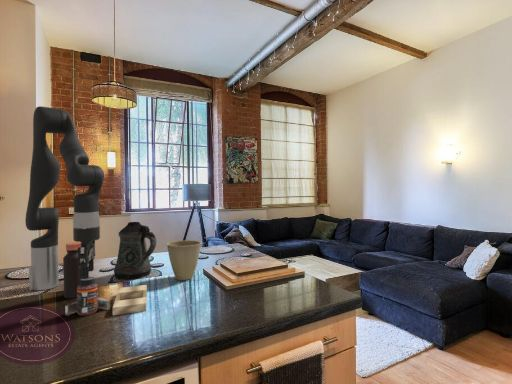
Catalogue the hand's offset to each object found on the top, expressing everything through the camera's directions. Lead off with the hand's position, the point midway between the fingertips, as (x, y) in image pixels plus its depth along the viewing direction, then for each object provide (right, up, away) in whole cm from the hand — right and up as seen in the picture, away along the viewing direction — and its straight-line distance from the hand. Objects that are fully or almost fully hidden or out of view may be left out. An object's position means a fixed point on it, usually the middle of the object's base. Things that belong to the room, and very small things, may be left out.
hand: (87, 274), depth 95 cm
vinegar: (-14, -13, +16) cm, 24 cm away
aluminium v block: (-1, -12, +3) cm, 13 cm away
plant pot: (+23, -12, +36) cm, 45 cm away
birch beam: (+11, -12, +9) cm, 18 cm away
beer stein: (-1, -12, +42) cm, 44 cm away
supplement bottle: (0, -13, 0) cm, 13 cm away
